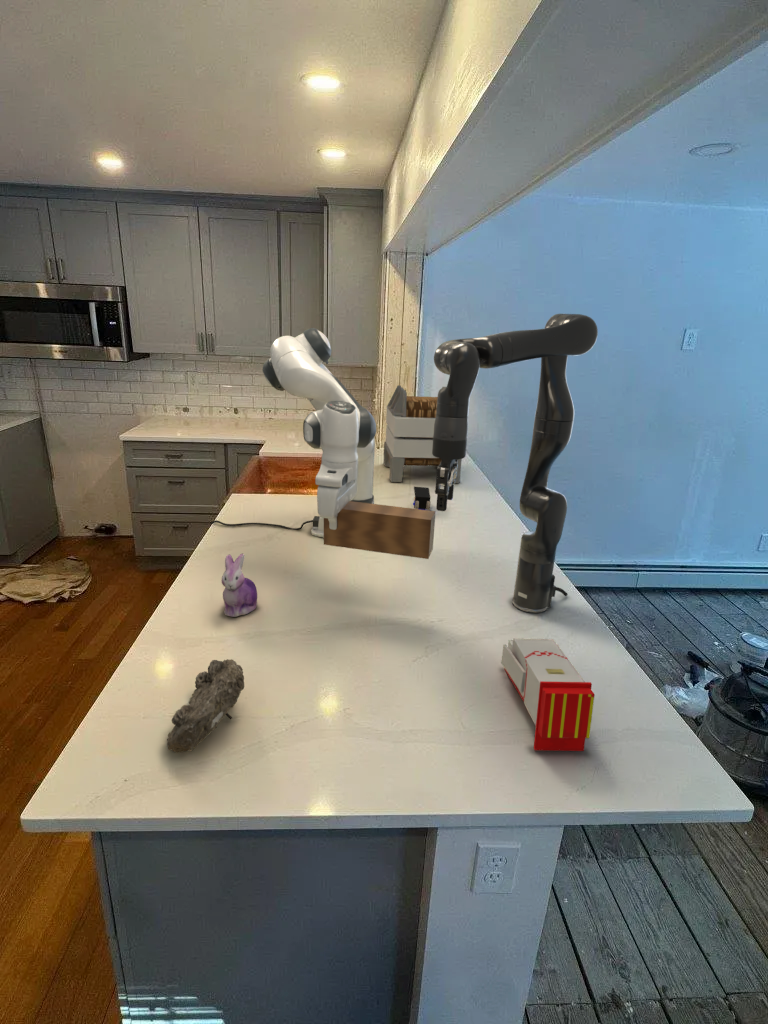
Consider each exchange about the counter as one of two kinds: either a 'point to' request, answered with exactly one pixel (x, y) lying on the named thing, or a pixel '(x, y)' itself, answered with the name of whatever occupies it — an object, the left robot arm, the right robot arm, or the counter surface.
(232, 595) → the figurine
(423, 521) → the box
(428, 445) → the grey boxy stand
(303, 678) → the counter surface
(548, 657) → the toy
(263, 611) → the counter surface
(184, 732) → the fossil
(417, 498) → the figurine character
